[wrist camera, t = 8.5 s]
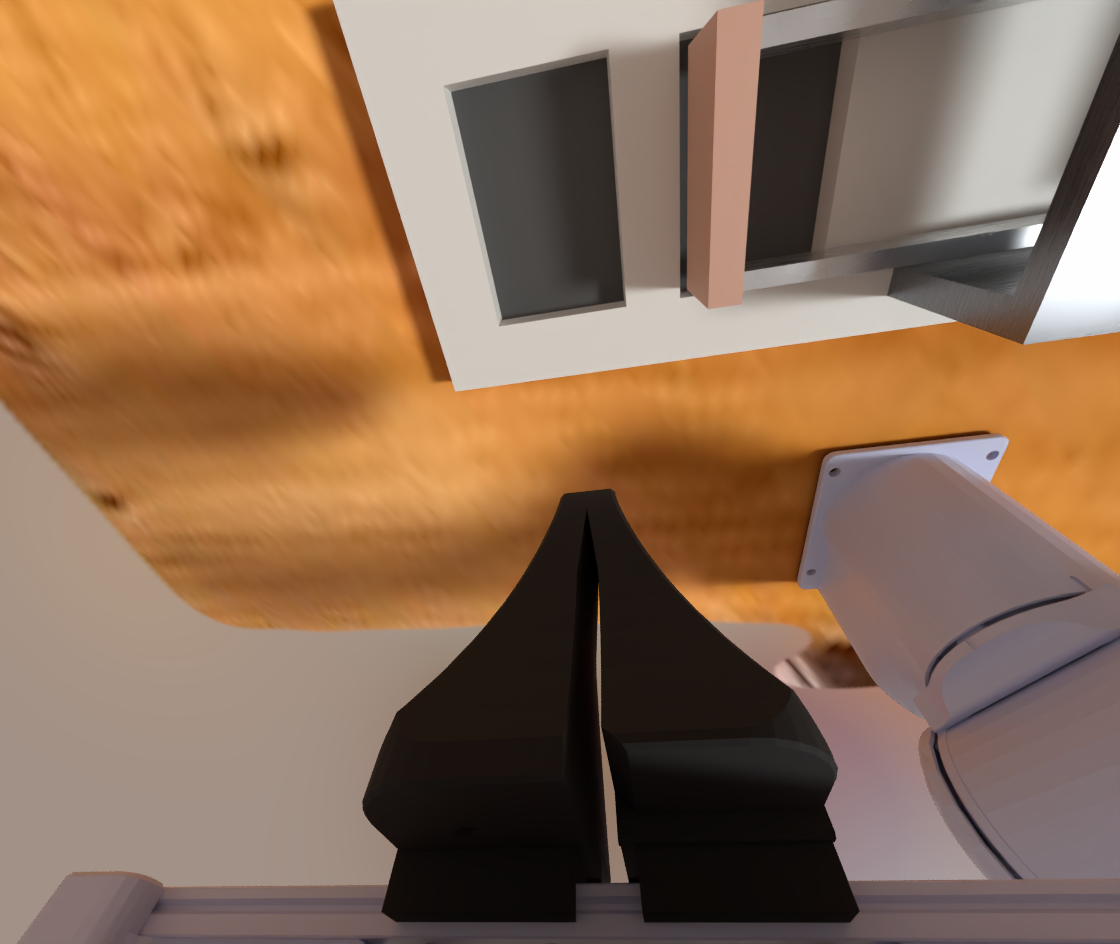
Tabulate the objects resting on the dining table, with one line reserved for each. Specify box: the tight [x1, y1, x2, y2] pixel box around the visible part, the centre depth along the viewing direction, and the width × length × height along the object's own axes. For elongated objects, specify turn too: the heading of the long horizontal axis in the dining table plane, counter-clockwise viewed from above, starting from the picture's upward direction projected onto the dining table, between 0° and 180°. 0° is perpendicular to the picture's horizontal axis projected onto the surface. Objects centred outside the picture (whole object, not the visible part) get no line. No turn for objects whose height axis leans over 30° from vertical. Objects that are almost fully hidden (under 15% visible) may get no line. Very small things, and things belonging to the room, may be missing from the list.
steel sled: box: [687, 0, 1047, 309], centre depth 11 cm, size 21×6×3 cm, turn 99°
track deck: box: [333, 0, 1120, 392], centre depth 14 cm, size 30×12×1 cm, turn 99°
